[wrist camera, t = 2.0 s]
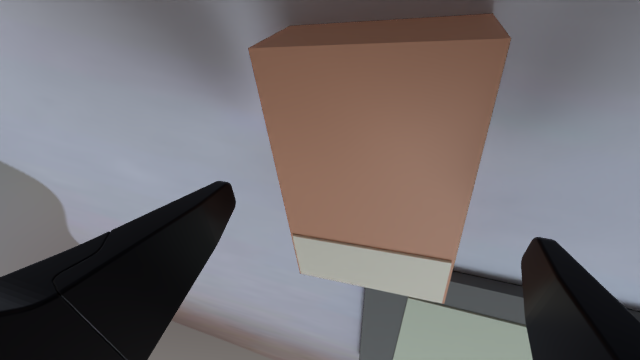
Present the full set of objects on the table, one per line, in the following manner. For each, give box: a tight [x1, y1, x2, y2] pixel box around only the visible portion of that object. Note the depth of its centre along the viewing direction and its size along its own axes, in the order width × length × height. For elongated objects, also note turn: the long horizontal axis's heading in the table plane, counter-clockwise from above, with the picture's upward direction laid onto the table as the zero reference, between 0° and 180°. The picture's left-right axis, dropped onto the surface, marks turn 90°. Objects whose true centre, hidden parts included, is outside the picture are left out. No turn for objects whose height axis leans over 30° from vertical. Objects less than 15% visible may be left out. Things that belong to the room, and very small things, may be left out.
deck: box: [248, 13, 511, 304], centre depth 11 cm, size 10×6×3 cm, turn 6°
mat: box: [359, 271, 640, 360], centre depth 17 cm, size 16×12×1 cm
